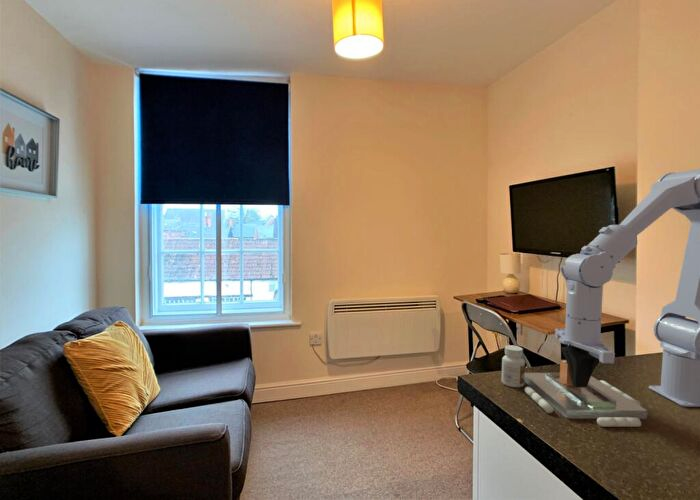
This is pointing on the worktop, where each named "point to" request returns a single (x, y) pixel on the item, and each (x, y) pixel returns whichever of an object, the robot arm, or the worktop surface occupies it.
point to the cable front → (539, 400)
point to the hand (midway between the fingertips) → (579, 386)
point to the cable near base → (621, 392)
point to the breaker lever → (565, 373)
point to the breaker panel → (583, 398)
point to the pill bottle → (513, 366)
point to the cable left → (618, 422)
